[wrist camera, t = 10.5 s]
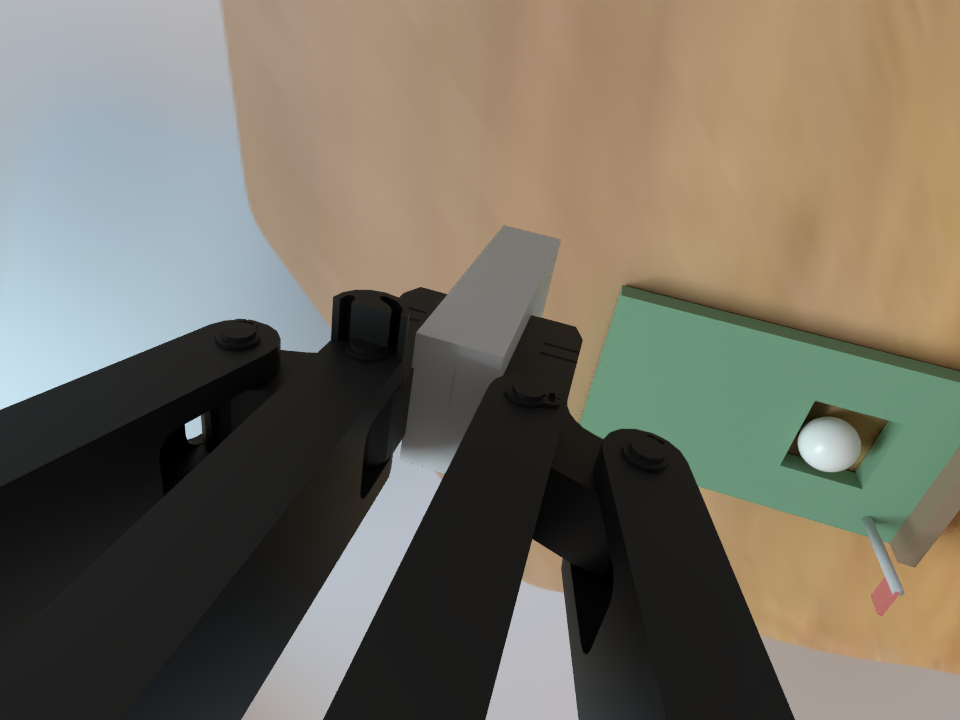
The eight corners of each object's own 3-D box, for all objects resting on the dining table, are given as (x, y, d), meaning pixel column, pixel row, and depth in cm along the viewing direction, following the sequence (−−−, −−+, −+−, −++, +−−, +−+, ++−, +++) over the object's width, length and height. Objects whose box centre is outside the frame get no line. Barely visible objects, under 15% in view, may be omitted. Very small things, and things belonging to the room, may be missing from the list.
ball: (804, 400, 45) (818, 429, 42) (861, 414, 45) (879, 444, 41) (783, 443, 47) (795, 475, 44) (837, 457, 47) (853, 489, 43)
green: (622, 285, 45) (614, 337, 37) (1002, 382, 41) (1081, 462, 33) (573, 443, 52) (557, 514, 45) (891, 537, 49) (934, 632, 41)
